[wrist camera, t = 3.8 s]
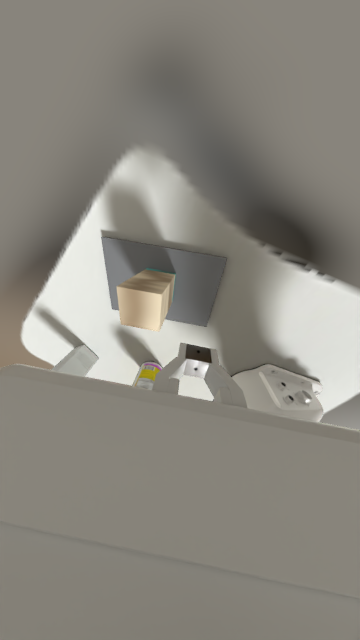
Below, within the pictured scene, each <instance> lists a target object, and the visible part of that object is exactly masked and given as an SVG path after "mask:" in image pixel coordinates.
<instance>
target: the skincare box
mask: <svg viewBox="0 0 360 640" xmlns="http://www.w3.org/2000/svg"><path fill="white" fill-rule="evenodd" d="M98 359H99V358H98V357H97V356H96V355H95V354H94V353H93V352H91V351H90V350H89V349H88V348H87V347H86V346H85V345H81V346H78V347H76V348H74V349H73V350H72V351H71V352H70V353H69V354H68V355H67V356H66V357H64V358H63V359H62V360H61V361H60V362H59V363H58V364H57V365H56V366H55V367H54V368H53V369H52V370H53V371H58V372H64V373H69V374H74V375H79V376H84V377H85V376H86V374H87V373H88V372H89V370H90V369H91V368H92V367H93V365H94V364H95V363H96V362H97V360H98Z"/></svg>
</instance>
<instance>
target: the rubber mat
mask: <svg viewBox="0 0 360 640" xmlns="http://www.w3.org/2000/svg"><path fill="white" fill-rule="evenodd" d="M101 238H102V245H103V251H104V258H105V265H106V271H107V278H108V285H109V292H110V298H111V305H112V309H115V310H119V304H118V296H117V287H116V286H118V285H120V284H121V283H123V282H125V281H126V280H128V279H130V278H131V277H133V276H135V275H137V274H138V273H140V272H142V271H143V270H145V269H147V268H149V269H155V270H161V271H166V272H172V273H176V279H175V287H174V295H173V301H172V303H171V306H170V308H169V310H168V313H167V315H166V317H165V319H167V320H173V321H178V322H183V323H188V324H194V325H199V326H204V327H206V326H207V323H208V320H209V317H210V313H211V310H212V307H213V303H214V300H215V297H216V293H217V290H218V287H219V283H220V280H221V277H222V274H223V270H224V267H225V264H226V260H227V258H225V257H219V256H214V255H208V254H202V253H196V252H190V251H184V250H178V249H173V248H167V247H161V246H155V245H149V244H143V243H138V242H132V241H126V240H120V239H114V238H108V237H101Z"/></svg>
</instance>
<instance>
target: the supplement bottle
mask: <svg viewBox="0 0 360 640" xmlns="http://www.w3.org/2000/svg"><path fill="white" fill-rule="evenodd" d="M162 369H163V368H162V367H161V366H160V365H159V364H157V363H155V362H145V363H143V364H142V365H141V367H140V369H139V371H138V374H137V376H136V378H135V380H134V382H133V385H132V386H136V387H141V388H146V389H151V390H152V387H153V384H154V381H155V377H156V374H157V373H158V372H159V371H161V370H162Z"/></svg>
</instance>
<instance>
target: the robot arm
mask: <svg viewBox="0 0 360 640" xmlns="http://www.w3.org/2000/svg"><path fill="white" fill-rule="evenodd" d="M183 375H188V376H194V377H199V378H203V379H204V380H205V382H206V384H207V386H208V387H209V389H210V391H211V393H212V395H213V396H214V399H213V401H208V400H202V399H197V398H192V397H187V396H182V395H178V389H179V380H180V378H181V377H182V376H183ZM321 391H322V385H321V383H320V382H318V381H315V380H312V379H309V378H307V377H304V376H301V375H298V374H296V373H293V372H290V371H287V370H284V369H282V368H279V367H276V366H273V365H270V364H266V365H263V366H261V367H258V368H256V369H253V370H248V371H243V372H240V373H238V374H236V375H234V376H232V377H231V376H230V375H229V374H228V373H227V372H226V371H225V370H224V368H223V367H222V366H221V365H219V361H218V355H217V350H216V349H211V348H205V347H200V346H195V345H190V344H185V343H180V347H179V352H178V357H176V358H175V359H173V360H172V361H171V362H170V363H169V364H168V365H166V366H165V367H164V368H163V369H162V370H161V371H159V372H158V373H157V374H156V377H155V381H154V384H153V387H152V390H151V389H146V388H141V387H136V386H131V385H125V384H120V383H115V382H110V381H105V380H100V379H95V378H89V377H84V376H79V375H74V374H69V373H64V372H58V371H53V370H48V369H43V368H38V367H33V366H28V365H23V364H13V365H9V366H6V367H2V368H0V640H360V430H357V429H352V428H346V427H341V426H336V425H331V424H326V423H321V422H319V421H320V420H321V418H322V417H323V408H322V405H321V403H320V402H319V400H318V398H317V397H318V396H319V395H320V393H321Z"/></svg>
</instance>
